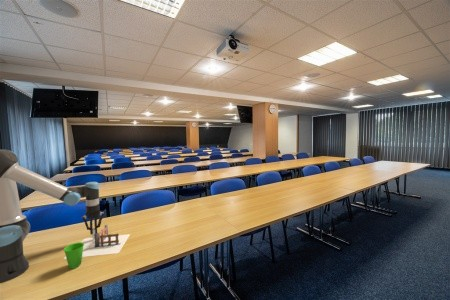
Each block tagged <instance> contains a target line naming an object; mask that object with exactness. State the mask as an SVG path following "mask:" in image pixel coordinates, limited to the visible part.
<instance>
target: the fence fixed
mask: <svg viewBox="0 0 450 300" xmlns="http://www.w3.org/2000/svg"><path fill="white" fill-rule="evenodd" d="M99 233H100V232H97V233H95V234H94V236H95V247H99ZM119 235H120V234H119V233H115V234H114V233H113V234H111V233H108V235H100V238H101V242H100V244H101V246H103V245H104V244H107V243H108V245H111V243H116V245H118V242H119V240H118V236H119ZM115 236H116V240H114V241H111V237H115ZM104 237H108V241H103V238H104Z"/></svg>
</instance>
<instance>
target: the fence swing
mask: <svg viewBox="0 0 450 300" xmlns="http://www.w3.org/2000/svg"><path fill="white" fill-rule="evenodd" d="M108 228H109V224H104V227H103V229H102V230H101V231H100V232H98V233H99V244H100V242H101V238H100V235H109V229H108ZM103 240H104V238H103Z"/></svg>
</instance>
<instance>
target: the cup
mask: <svg viewBox="0 0 450 300" xmlns="http://www.w3.org/2000/svg"><path fill="white" fill-rule="evenodd" d="M83 246H84V243H82V242H81V241H79V242H78V241H77V242H74V243H71V244H69V245H67V246H65V247H64V248H63V252H64V254H65V257H66V258H67V259H66V262H67V264H68V268H69V269H70V270H74V269H77V268H78V267H80V266H81V265H82V261H83V260H82V259H83V257H82V253H83Z"/></svg>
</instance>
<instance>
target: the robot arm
mask: <svg viewBox="0 0 450 300" xmlns="http://www.w3.org/2000/svg"><path fill="white" fill-rule="evenodd" d="M17 184H20V185H23V186H25V187H28V188H30V189H33V190H34V191H36V192H37V191H38V192H40V193H42V194H43V195H44V194H45V195H47V196H50V197H52V198H53V199H56V200H59V201H62V202H63V203H64V204H65V205H66V206H70V207H72V206H73V207H74V206H76V205H77V204H79V202H80V201H81V199H82V198H83V199H84V198H85V214H84V215H83V216H81V220H82V221H83V222H84V224H85V227H86V230H88V231H89V233H90V236H91V235H92V237H91V238H93V239H95V236H94V234H95V233H98V228H100V227H101V225H102V220H103V218H104V216H105V213H104V211H101V210H100V188H99V182H97V181H89V182H86V183H85V184H84V185H83V186H82V185H81V186H72V187H67V186H65V185H63V184H60V183H58V182H56V181H54V180H52V179H50V178H48V177H45V176H43V175H41V174H39V173H37V172H34V171H32V170H30V169H28V168H25V167H23V166H21V165H20V164H19V157H18V155H17V154H16V153H15V152H14V151H12V150H9V149H4V148H3V149H1V148H0V283H4V282H8V281H10V280H12V279H15V278H17V277H18V276H21V275H23V274H25V272H26V271H28V269H29V267H30V262H29V260H27V257H26V256H25V254H24V241H25V239H26V237H28V235H29V233H30V232H31V224H30V222H29V221H28V218H27V216H26V215H24V214H23V213H22V207H21V202H20V195H19V191H18V185H17ZM98 217H99V219H98V220H97V218H98ZM87 218H88V219H89V223H88V221H87ZM93 220H94V222H93ZM93 223H94V227H93Z"/></svg>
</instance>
